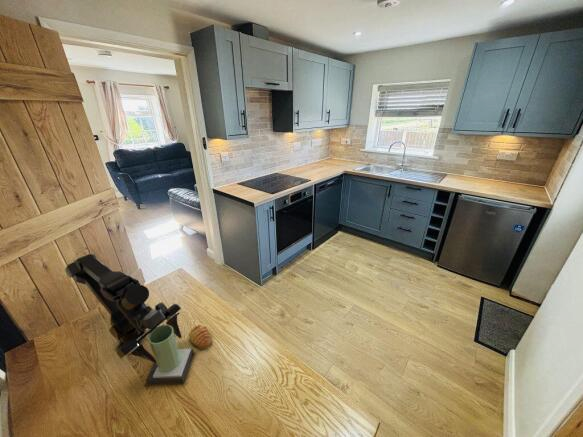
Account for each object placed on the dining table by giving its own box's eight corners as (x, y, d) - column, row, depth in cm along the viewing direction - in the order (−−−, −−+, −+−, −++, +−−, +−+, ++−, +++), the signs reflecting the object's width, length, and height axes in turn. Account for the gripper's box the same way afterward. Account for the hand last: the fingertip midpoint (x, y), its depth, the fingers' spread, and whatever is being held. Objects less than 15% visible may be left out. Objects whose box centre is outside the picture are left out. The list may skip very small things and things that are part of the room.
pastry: (216, 342, 87) (214, 335, 85) (198, 354, 83) (196, 347, 81) (204, 327, 93) (202, 320, 92) (187, 337, 89) (185, 330, 87)
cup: (153, 372, 74) (143, 344, 68) (163, 352, 80) (154, 324, 74) (176, 372, 74) (167, 343, 68) (184, 351, 80) (176, 324, 75)
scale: (147, 384, 74) (144, 378, 72) (162, 354, 83) (160, 348, 81) (183, 383, 74) (181, 377, 73) (194, 353, 83) (192, 347, 82)
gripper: (109, 327, 61) (148, 373, 61) (171, 283, 76) (202, 320, 77) (101, 337, 67) (137, 378, 68) (160, 295, 83) (188, 329, 83)
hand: (168, 349), depth 74 cm, fingers open, 9 cm apart
